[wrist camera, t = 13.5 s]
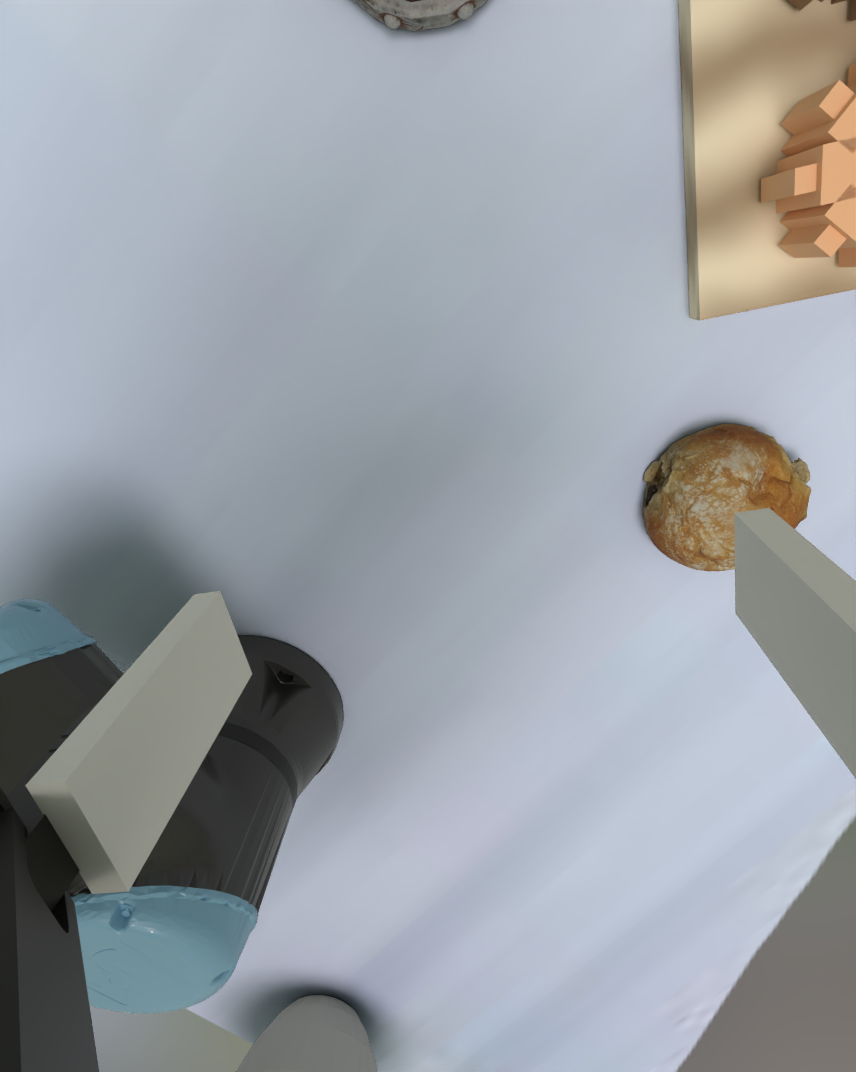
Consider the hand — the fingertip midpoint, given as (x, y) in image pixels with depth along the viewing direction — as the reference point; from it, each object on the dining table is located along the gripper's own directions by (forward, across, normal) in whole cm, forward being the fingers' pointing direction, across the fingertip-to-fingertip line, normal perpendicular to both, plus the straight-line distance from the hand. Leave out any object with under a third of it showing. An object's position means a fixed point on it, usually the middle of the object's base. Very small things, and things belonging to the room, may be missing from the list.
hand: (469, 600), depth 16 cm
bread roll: (+29, -15, +10) cm, 34 cm away
